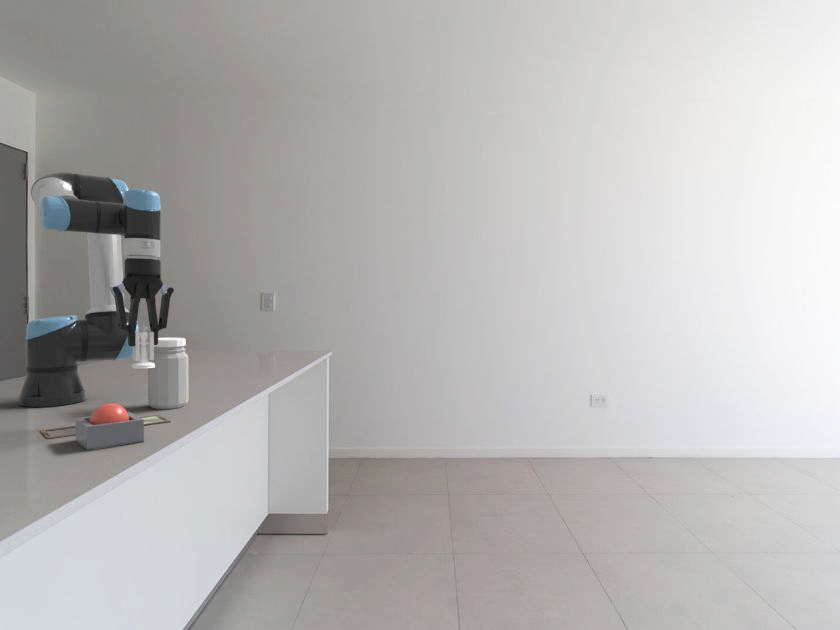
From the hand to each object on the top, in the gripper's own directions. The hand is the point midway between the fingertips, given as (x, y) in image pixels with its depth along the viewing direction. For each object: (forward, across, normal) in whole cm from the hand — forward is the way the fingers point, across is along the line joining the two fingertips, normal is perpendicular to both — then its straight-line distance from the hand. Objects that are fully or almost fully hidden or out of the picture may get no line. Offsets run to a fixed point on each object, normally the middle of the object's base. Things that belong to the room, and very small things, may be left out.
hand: (143, 359), depth 130 cm
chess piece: (+2, 0, 0) cm, 2 cm away
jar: (+15, +10, +15) cm, 24 cm away
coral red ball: (+14, -10, -14) cm, 22 cm away
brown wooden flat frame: (+15, -7, 0) cm, 16 cm away
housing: (+15, -10, -14) cm, 23 cm away
